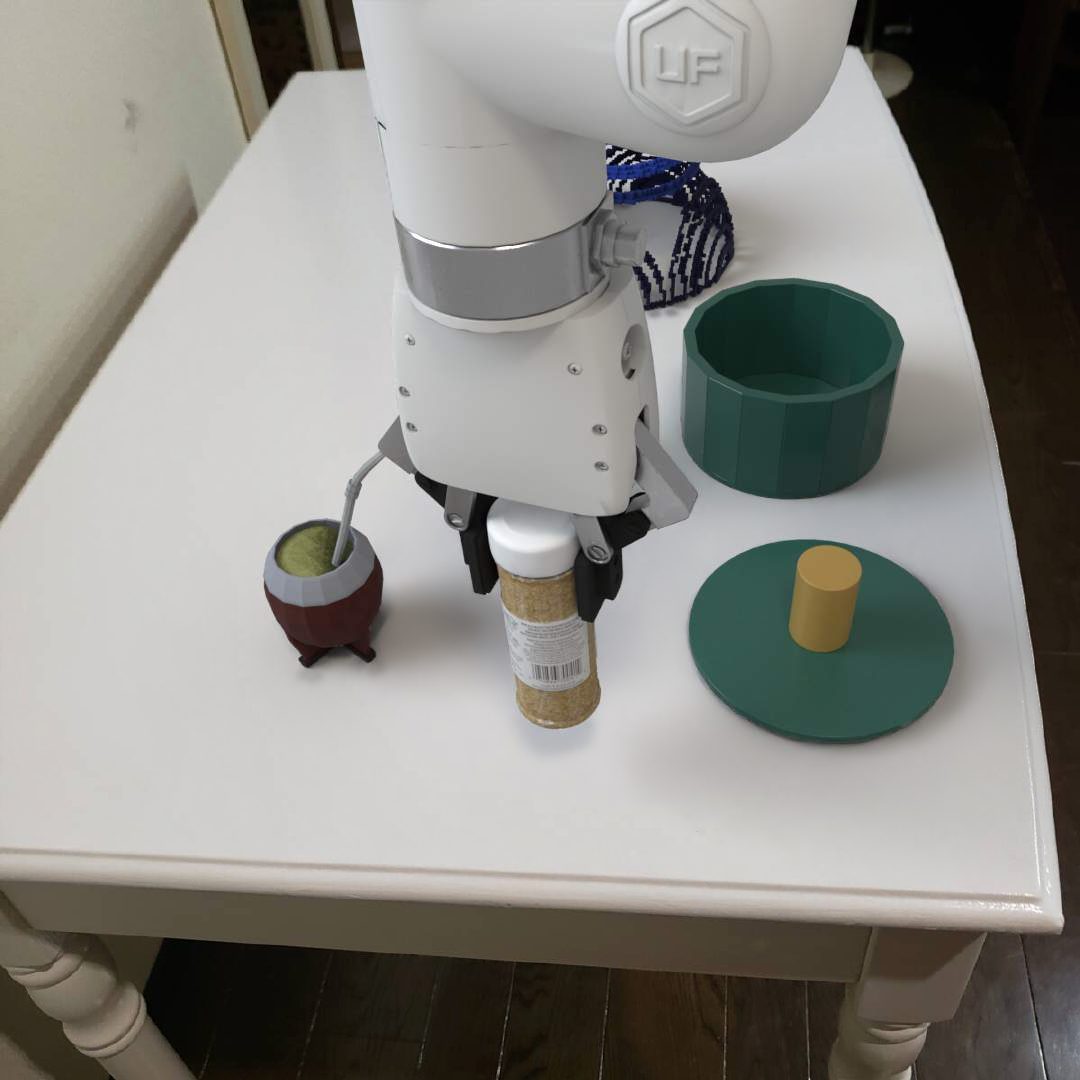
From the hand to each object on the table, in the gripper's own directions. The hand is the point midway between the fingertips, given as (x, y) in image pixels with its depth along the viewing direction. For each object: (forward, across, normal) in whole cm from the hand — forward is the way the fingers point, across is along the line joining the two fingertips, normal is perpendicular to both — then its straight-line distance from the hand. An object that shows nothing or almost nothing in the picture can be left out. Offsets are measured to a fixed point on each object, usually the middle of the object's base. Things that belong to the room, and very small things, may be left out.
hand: (544, 584), depth 53 cm
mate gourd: (+15, +17, -4) cm, 23 cm away
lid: (+15, -11, -14) cm, 23 cm away
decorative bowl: (+15, +16, -53) cm, 58 cm away
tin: (+15, -4, -32) cm, 36 cm away
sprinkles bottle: (+9, 0, 0) cm, 9 cm away
